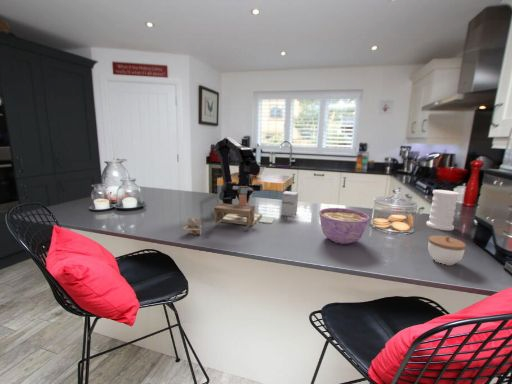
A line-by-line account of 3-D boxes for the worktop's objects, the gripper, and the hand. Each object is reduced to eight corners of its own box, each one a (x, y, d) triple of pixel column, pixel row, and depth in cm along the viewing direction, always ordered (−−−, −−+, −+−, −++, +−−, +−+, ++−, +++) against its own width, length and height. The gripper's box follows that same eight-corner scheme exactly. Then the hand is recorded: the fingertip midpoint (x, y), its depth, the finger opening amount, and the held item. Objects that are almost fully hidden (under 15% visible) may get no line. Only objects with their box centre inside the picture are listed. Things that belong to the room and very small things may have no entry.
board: (232, 213, 145) (232, 210, 145) (261, 216, 141) (261, 213, 141) (220, 221, 131) (220, 218, 131) (253, 225, 126) (253, 222, 126)
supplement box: (280, 215, 144) (281, 193, 142) (284, 212, 151) (285, 190, 148) (293, 217, 142) (295, 194, 139) (297, 213, 148) (298, 192, 146)
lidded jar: (429, 264, 91) (434, 239, 89) (422, 252, 101) (426, 229, 99) (466, 271, 87) (472, 244, 85) (455, 257, 97) (460, 234, 95)
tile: (263, 217, 140) (263, 216, 139) (275, 218, 138) (275, 217, 138) (258, 222, 131) (258, 221, 131) (271, 223, 129) (271, 222, 129)
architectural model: (199, 237, 111) (198, 221, 109) (183, 236, 111) (182, 220, 110) (201, 234, 114) (201, 218, 113) (186, 233, 115) (185, 217, 113)
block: (241, 205, 139) (241, 193, 138) (248, 206, 138) (248, 193, 137) (238, 207, 135) (238, 194, 134) (246, 208, 134) (246, 195, 133)
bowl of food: (313, 231, 121) (314, 207, 118) (356, 232, 120) (359, 208, 118) (322, 249, 101) (324, 220, 99) (374, 251, 101) (378, 222, 98)
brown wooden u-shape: (221, 217, 132) (221, 203, 130) (254, 221, 127) (254, 206, 126) (214, 222, 123) (214, 207, 122) (248, 226, 119) (248, 211, 117)
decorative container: (459, 230, 127) (466, 194, 124) (437, 230, 126) (443, 194, 123) (441, 222, 139) (447, 189, 135) (421, 222, 138) (426, 189, 134)
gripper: (265, 172, 138) (264, 200, 141) (232, 169, 143) (232, 197, 146) (260, 174, 128) (259, 205, 131) (224, 172, 133) (224, 202, 136)
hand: (243, 202), depth 136 cm, fingers closed on block, 4 cm apart
